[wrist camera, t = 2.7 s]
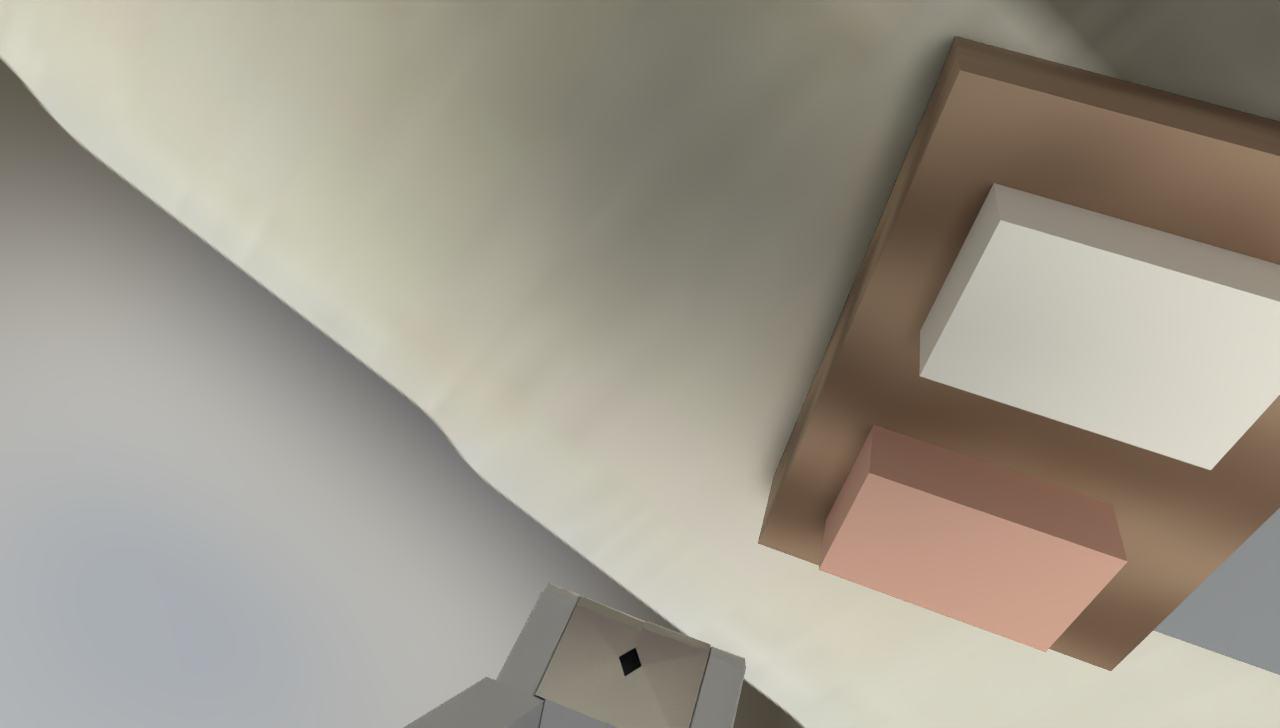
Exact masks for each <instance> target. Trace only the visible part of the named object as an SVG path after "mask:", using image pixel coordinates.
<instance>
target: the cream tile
mask: <svg viewBox="0 0 1280 728" xmlns="http://www.w3.org/2000/svg"><path fill="white" fill-rule="evenodd" d="M919 376H921V377H924V378H927V379H930V380H933V381H936V382H939V383H942V384H945V385H948V386H952V387H955V388H958V389H961V390H964V391H967V392H970V393H973V394H976V395H979V396H982V397H986V398H989V399H992V400H995V401H998V402H1001V403H1004V404H1007V405H1010V406H1013V407H1016V408H1020V409H1023V410H1026V411H1029V412H1032V413H1035V414H1038V415H1041V416H1044V417H1047V418H1050V419H1054V420H1057V421H1060V422H1063V423H1066V424H1069V425H1072V426H1075V427H1078V428H1081V429H1084V430H1088V431H1091V432H1094V433H1097V434H1100V435H1103V436H1106V437H1109V438H1112V439H1115V440H1118V441H1122V442H1125V443H1128V444H1131V445H1134V446H1137V447H1140V448H1143V449H1146V450H1149V451H1152V452H1156V453H1159V454H1162V455H1165V456H1168V457H1171V458H1174V459H1177V460H1180V461H1183V462H1186V463H1190V464H1193V465H1196V466H1199V467H1202V468H1205V469H1208V470H1212V469H1213V467H1214V466H1215V465H1216V464H1217V463H1218V462H1219V461H1220V460H1221V459H1222V458H1223V456H1224V455H1225V454H1226V453H1227V452H1228V451H1229V450H1230V449H1231V448H1232V447H1233V445H1234V444H1235V443H1236V442H1237V441H1238V440H1239V439H1240V438H1241V437H1242V436H1243V434H1244V433H1245V432H1246V431H1247V430H1248V429H1249V428H1250V427H1251V426H1252V425H1253V423H1254V422H1255V421H1256V420H1257V419H1258V418H1259V417H1260V416H1261V415H1262V414H1263V412H1264V411H1265V410H1266V409H1267V408H1268V407H1269V406H1270V405H1271V404H1272V403H1273V401H1274V400H1275V399H1276V398H1277V397H1278V396H1279V395H1280V265H1278V264H1275V263H1271V262H1268V261H1264V260H1261V259H1257V258H1254V257H1250V256H1247V255H1243V254H1240V253H1236V252H1233V251H1229V250H1226V249H1222V248H1219V247H1215V246H1212V245H1208V244H1205V243H1201V242H1198V241H1194V240H1191V239H1188V238H1184V237H1181V236H1177V235H1174V234H1170V233H1167V232H1163V231H1160V230H1156V229H1153V228H1149V227H1146V226H1142V225H1139V224H1135V223H1132V222H1128V221H1125V220H1121V219H1118V218H1114V217H1111V216H1107V215H1104V214H1100V213H1097V212H1093V211H1090V210H1086V209H1083V208H1079V207H1076V206H1072V205H1069V204H1065V203H1062V202H1058V201H1055V200H1052V199H1048V198H1045V197H1041V196H1038V195H1034V194H1031V193H1027V192H1024V191H1020V190H1017V189H1013V188H1010V187H1006V186H1003V185H999V184H996V183H994V184H993V186H992V188H991V190H990V192H989V194H988V196H987V198H986V200H985V202H984V204H983V206H982V208H981V210H980V212H979V214H978V216H977V218H976V220H975V222H974V224H973V226H972V228H971V230H970V232H969V234H968V236H967V238H966V240H965V242H964V244H963V246H962V248H961V250H960V252H959V254H958V256H957V258H956V260H955V262H954V264H953V266H952V268H951V270H950V272H949V274H948V276H947V278H946V280H945V282H944V284H943V286H942V288H941V290H940V292H939V294H938V296H937V298H936V300H935V302H934V304H933V306H932V308H931V310H930V312H929V314H928V316H927V318H926V320H925V322H924V324H923V326H922V328H921V330H920V373H919Z"/></svg>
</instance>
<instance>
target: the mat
mask: <svg viewBox="0 0 1280 728" xmlns="http://www.w3.org/2000/svg"><path fill="white" fill-rule="evenodd" d="M1154 631H1157V632H1160V633H1163V634H1165V635H1168V636H1171V637H1174V638H1177V639H1180V640H1182V641H1185V642H1188V643H1191V644H1194V645H1197V646H1199V647H1202V648H1205V649H1208V650H1211V651H1214V652H1216V653H1219V654H1222V655H1225V656H1228V657H1231V658H1233V659H1236V660H1239V661H1242V662H1245V663H1248V664H1250V665H1253V666H1256V667H1259V668H1262V669H1265V670H1267V671H1270V672H1273V673H1276V674H1279V675H1280V508H1279V509H1278V510H1277V511H1276V512H1275V513H1274V514H1273V515H1272V516H1271V517H1270V518H1269V519H1268V520H1267V521H1266V522H1265V523H1264V524H1262V525H1261V526H1260V527H1259V528H1258V529H1257V530H1256V531H1255V532H1254V533H1253V534H1252V535H1251V536H1250V537H1249V538H1248V539H1247V540H1246V541H1245V542H1244V543H1243V544H1242V545H1241V546H1240V547H1239V548H1238V549H1237V550H1236V551H1235V552H1234V553H1233V554H1231V555H1230V556H1229V557H1228V558H1227V559H1226V560H1225V561H1224V562H1223V563H1222V564H1221V565H1220V566H1219V567H1218V568H1217V569H1216V570H1215V571H1214V572H1213V573H1212V574H1211V575H1210V576H1209V577H1208V578H1207V579H1206V580H1205V581H1204V582H1203V583H1202V584H1200V585H1199V586H1198V587H1197V588H1196V589H1195V590H1194V591H1193V592H1192V593H1191V594H1190V595H1189V596H1188V597H1187V598H1186V599H1185V600H1184V601H1183V602H1182V603H1181V604H1180V605H1179V606H1178V607H1177V608H1176V609H1175V610H1174V611H1173V612H1172V613H1171V614H1170V615H1168V616H1167V617H1166V618H1165V619H1164V620H1163V621H1162V622H1161V623H1160V624H1159V625H1158V626H1157V627H1156V628H1155V629H1154Z"/></svg>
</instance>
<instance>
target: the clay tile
mask: <svg viewBox="0 0 1280 728" xmlns="http://www.w3.org/2000/svg"><path fill="white" fill-rule="evenodd" d="M1127 562H1128V561H1127V557H1126V553H1125V550H1124V546H1123V542H1122V538H1121V535H1120V531H1119V527H1118V524H1117V520H1116V516H1115V513H1114V509H1113V505H1112V504H1109V503H1106V502H1103V501H1100V500H1097V499H1094V498H1091V497H1088V496H1085V495H1082V494H1079V493H1076V492H1073V491H1070V490H1067V489H1064V488H1061V487H1058V486H1055V485H1052V484H1049V483H1046V482H1043V481H1040V480H1037V479H1034V478H1031V477H1029V476H1026V475H1023V474H1020V473H1017V472H1014V471H1011V470H1008V469H1005V468H1002V467H999V466H996V465H993V464H990V463H987V462H984V461H981V460H978V459H975V458H972V457H969V456H966V455H963V454H960V453H957V452H954V451H951V450H948V449H945V448H942V447H939V446H936V445H933V444H930V443H927V442H924V441H921V440H918V439H915V438H912V437H909V436H906V435H903V434H900V433H897V432H894V431H891V430H888V429H885V428H882V427H879V426H876V425H873V427H872V429H871V431H870V433H869V435H868V437H867V439H866V441H865V443H864V445H863V447H862V449H861V451H860V453H859V455H858V457H857V459H856V461H855V463H854V465H853V467H852V469H851V471H850V473H849V475H848V477H847V479H846V481H845V483H844V485H843V487H842V489H841V491H840V493H839V495H838V497H837V499H836V501H835V503H834V505H833V507H832V509H831V511H830V513H829V515H828V517H827V519H826V524H825V531H824V537H823V544H822V551H821V558H820V564H819V570H821V571H824V572H827V573H829V574H832V575H835V576H838V577H840V578H843V579H846V580H849V581H851V582H854V583H857V584H860V585H862V586H865V587H868V588H871V589H873V590H876V591H879V592H882V593H884V594H887V595H890V596H893V597H895V598H898V599H901V600H904V601H906V602H909V603H912V604H915V605H918V606H920V607H923V608H926V609H929V610H931V611H934V612H937V613H940V614H942V615H945V616H948V617H951V618H953V619H956V620H959V621H962V622H964V623H967V624H970V625H973V626H975V627H978V628H981V629H984V630H986V631H989V632H992V633H995V634H997V635H1000V636H1003V637H1006V638H1008V639H1011V640H1014V641H1017V642H1019V643H1022V644H1025V645H1028V646H1030V647H1033V648H1036V649H1039V650H1041V651H1044V652H1046V651H1047V650H1048V649H1049V648H1050V647H1051V645H1052V644H1053V643H1054V642H1055V641H1056V640H1057V639H1058V638H1059V637H1060V636H1061V634H1062V633H1063V632H1064V631H1065V630H1066V629H1067V628H1068V627H1069V626H1070V625H1071V623H1072V622H1073V621H1074V620H1075V619H1076V618H1077V617H1078V616H1079V615H1080V614H1081V612H1082V611H1083V610H1084V609H1085V608H1086V607H1087V606H1088V605H1089V604H1090V603H1091V601H1092V600H1093V599H1094V598H1095V597H1096V596H1097V595H1098V594H1099V593H1100V592H1101V590H1102V589H1103V588H1104V587H1105V586H1106V585H1107V584H1108V583H1109V582H1110V581H1111V580H1112V578H1113V577H1114V576H1115V575H1116V574H1117V573H1118V572H1119V571H1120V570H1121V569H1122V567H1123V566H1124V565H1125V564H1126V563H1127Z"/></svg>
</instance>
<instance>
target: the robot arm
mask: <svg viewBox="0 0 1280 728" xmlns="http://www.w3.org/2000/svg"><path fill="white" fill-rule="evenodd" d="M745 669H746V665H745V658H742V657H739V656H737V655H734V654H731V653H729V652H726V651H723V650H720V649H718V648H715V647H710V644H708V643H705V642H702V641H699V640H697V639H694V638H691V637H689V636H686V635H683V634H680V633H678V632H675V631H672V630H669V629H667V628H664V627H661V626H659V625H656V624H653V623H650V622H648V621H643V620H640V619H638V618H635V617H633V616H630V615H628V614H625V613H623V612H620V611H617V610H615V609H612V608H610V607H608V606H605V605H603V604H600V603H598V602H595V601H592V600H590V599H587V598H585V597H583V596H581V595H579V594H576V593H574V592H571V591H568V590H566V589H563V588H560V587H558V586H555V585H553V584H550V583H549V584H548V585H547V586H546V587H545V589H544V590H543V591H542V592H541V594H540V596H539V598H538V600H537V602H536V604H535V606H534V608H533V610H532V612H531V614H530V615H529V618H528V619H527V621H526V623H525V625H524V627H523V629H522V631H521V633H520V635H519V637H518V639H517V641H516V643H515V644H514V646H513V649H512V650H511V652H510V654H509V656H508V658H507V660H506V662H505V664H504V666H503V668H502V670H501V672H500V673H499V675H498V677H497V679H496V680H494V679H491V678H488V677H486V678H483V679H482V680H480V681H479V682H477V683H475V684H474V685H472V686H470V687H469V688H467V689H466V690H464V691H462V692H461V693H459V694H457V695H456V696H454V697H452V698H451V699H449V700H448V701H446V702H444V703H443V704H441V705H439V706H438V707H436V708H435V709H433V710H431V711H430V712H428V713H426V714H425V715H423V716H421V717H420V718H418V719H417V720H415V721H413V722H412V723H410V724H408V725H407V726H405V727H404V728H733V724H734V719H735V715H736V710H737V706H738V701H739V697H740V692H741V688H742V683H743V678H744V674H745Z"/></svg>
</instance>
